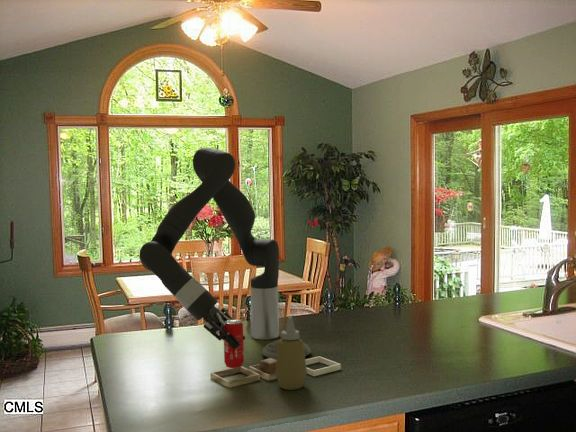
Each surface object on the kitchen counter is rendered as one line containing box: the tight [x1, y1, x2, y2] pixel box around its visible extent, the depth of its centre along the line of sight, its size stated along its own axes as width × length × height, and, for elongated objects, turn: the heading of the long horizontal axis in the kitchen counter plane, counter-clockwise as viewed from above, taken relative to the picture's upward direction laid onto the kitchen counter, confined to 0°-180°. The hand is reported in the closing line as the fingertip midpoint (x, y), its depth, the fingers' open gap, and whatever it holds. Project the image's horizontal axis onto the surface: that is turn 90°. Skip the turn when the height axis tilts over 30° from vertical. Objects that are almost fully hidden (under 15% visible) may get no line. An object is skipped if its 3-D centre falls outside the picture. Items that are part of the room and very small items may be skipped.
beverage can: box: [223, 318, 245, 369], centre depth 161 cm, size 5×5×12 cm
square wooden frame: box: [248, 363, 278, 382], centre depth 167 cm, size 10×10×2 cm
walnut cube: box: [259, 357, 277, 374], centre depth 165 cm, size 4×4×4 cm
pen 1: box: [210, 365, 261, 389], centre depth 162 cm, size 10×10×2 cm
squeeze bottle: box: [276, 316, 307, 391], centre depth 155 cm, size 8×8×18 cm
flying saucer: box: [261, 338, 312, 359], centre depth 183 cm, size 15×15×6 cm
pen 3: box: [305, 355, 342, 377], centre depth 169 cm, size 10×10×2 cm
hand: (240, 343), depth 161 cm, fingers closed on beverage can, 5 cm apart
